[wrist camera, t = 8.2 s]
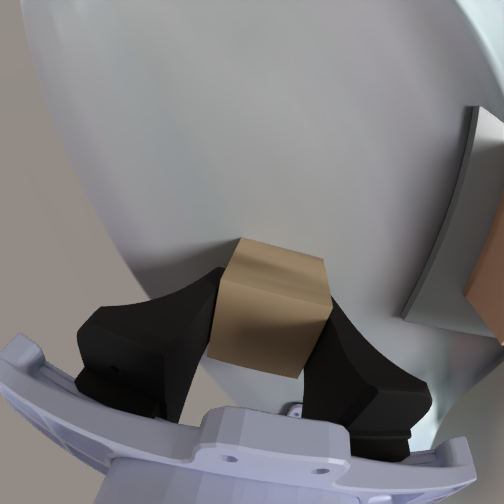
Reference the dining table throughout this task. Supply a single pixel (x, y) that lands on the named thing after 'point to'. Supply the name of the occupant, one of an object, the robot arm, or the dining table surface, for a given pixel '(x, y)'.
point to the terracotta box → (490, 278)
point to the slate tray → (463, 234)
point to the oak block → (270, 309)
